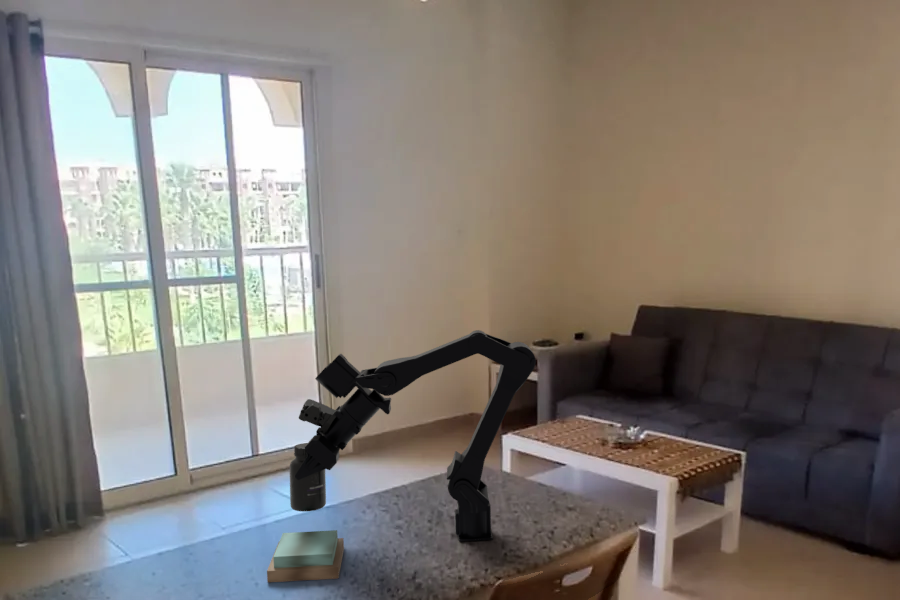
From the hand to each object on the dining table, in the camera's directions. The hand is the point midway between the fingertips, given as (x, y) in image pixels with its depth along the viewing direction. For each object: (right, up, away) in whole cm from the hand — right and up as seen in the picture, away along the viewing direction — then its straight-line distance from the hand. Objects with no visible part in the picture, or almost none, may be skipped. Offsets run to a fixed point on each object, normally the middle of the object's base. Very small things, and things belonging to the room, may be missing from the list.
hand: (300, 472), depth 138 cm
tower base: (+3, -14, -10) cm, 18 cm away
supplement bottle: (+2, -7, 0) cm, 7 cm away
